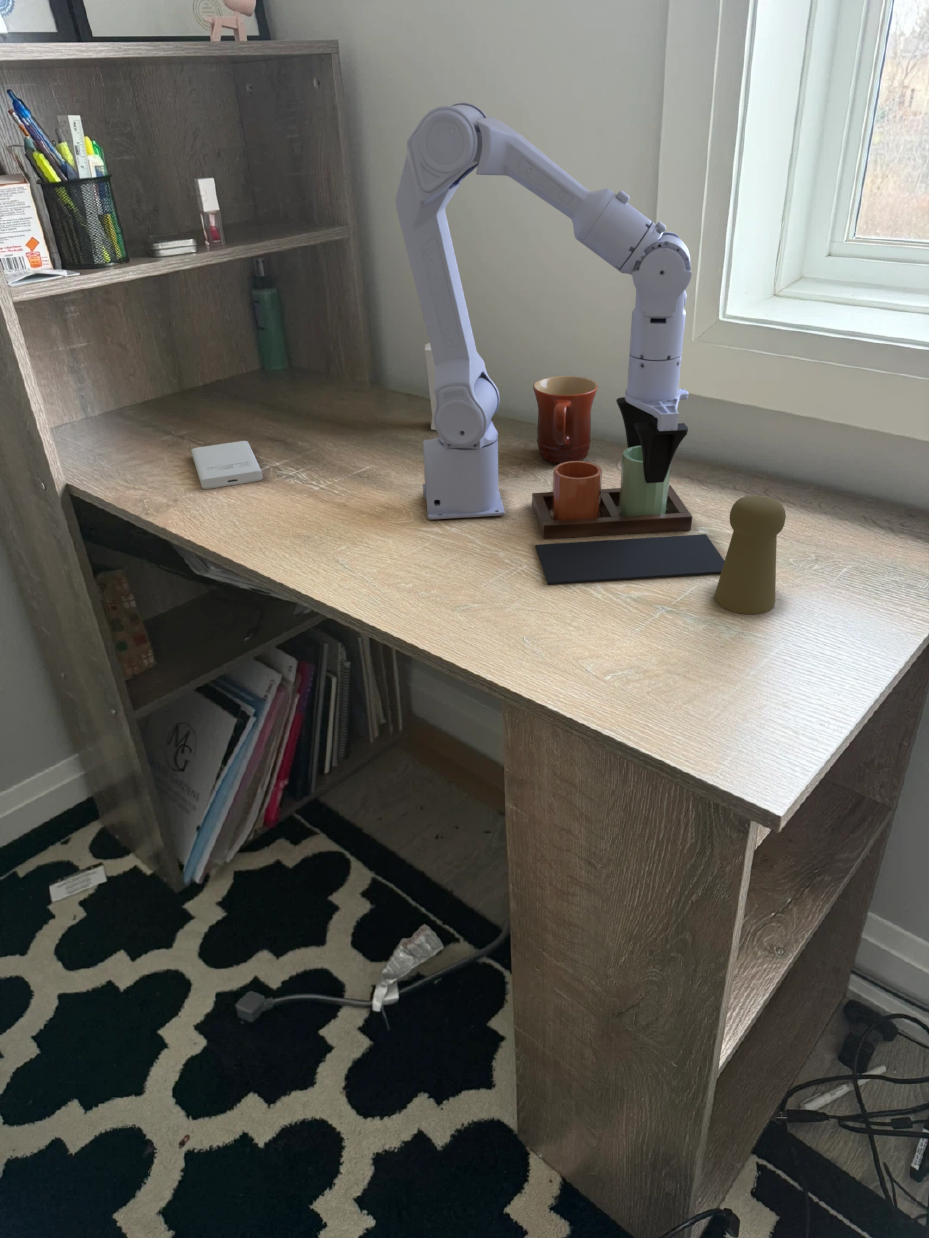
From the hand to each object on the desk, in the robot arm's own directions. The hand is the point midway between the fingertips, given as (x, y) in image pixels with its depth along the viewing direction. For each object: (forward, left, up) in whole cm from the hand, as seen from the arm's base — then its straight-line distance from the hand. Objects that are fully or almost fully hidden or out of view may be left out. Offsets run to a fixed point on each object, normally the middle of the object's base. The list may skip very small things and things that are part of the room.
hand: (646, 469), depth 106 cm
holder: (-4, 0, -6) cm, 7 cm away
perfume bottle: (-23, +36, -6) cm, 43 cm away
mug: (-7, +19, -6) cm, 21 cm away
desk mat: (-4, -11, -6) cm, 13 cm away
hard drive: (-54, +23, -6) cm, 59 cm away
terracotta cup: (-8, 0, -6) cm, 10 cm away
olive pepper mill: (+5, -21, -6) cm, 23 cm away
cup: (0, 0, -6) cm, 6 cm away
